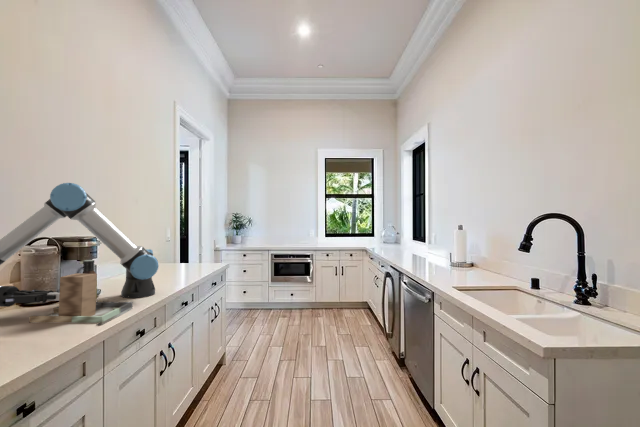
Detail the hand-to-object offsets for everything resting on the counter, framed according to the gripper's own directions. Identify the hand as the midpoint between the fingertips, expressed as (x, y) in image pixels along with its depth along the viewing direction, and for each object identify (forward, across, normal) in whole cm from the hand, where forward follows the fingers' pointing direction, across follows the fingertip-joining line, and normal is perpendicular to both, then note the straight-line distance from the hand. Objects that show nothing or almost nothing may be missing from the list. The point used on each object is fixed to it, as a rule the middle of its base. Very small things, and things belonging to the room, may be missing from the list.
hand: (66, 296), depth 119 cm
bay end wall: (+16, 0, -9) cm, 18 cm away
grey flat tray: (+4, -5, -9) cm, 11 cm away
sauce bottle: (-6, -22, -9) cm, 25 cm away
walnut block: (+4, 0, -8) cm, 9 cm away
